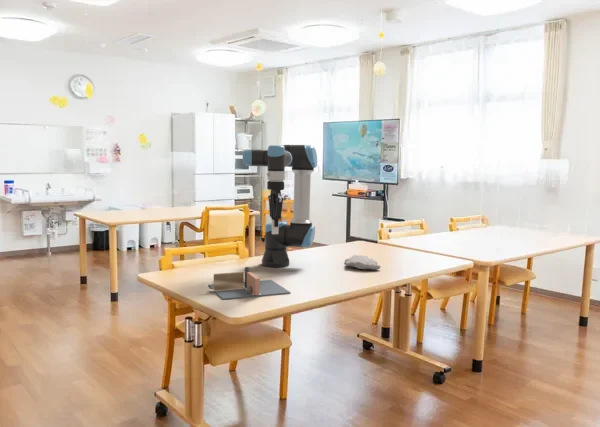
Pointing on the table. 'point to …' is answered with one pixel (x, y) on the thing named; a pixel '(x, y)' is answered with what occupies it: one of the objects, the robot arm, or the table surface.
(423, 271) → the table surface
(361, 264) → the stone
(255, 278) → the hinged panel
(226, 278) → the base
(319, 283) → the table surface
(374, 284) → the table surface
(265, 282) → the card
